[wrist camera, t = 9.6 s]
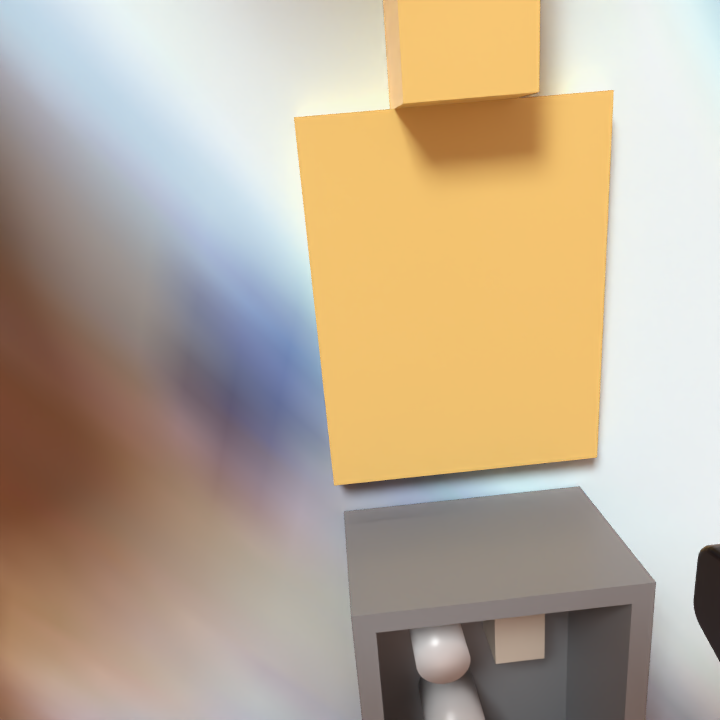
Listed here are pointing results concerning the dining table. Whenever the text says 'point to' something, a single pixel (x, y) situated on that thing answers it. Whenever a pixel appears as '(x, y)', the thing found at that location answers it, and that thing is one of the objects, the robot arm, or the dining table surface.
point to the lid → (459, 252)
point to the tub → (498, 610)
